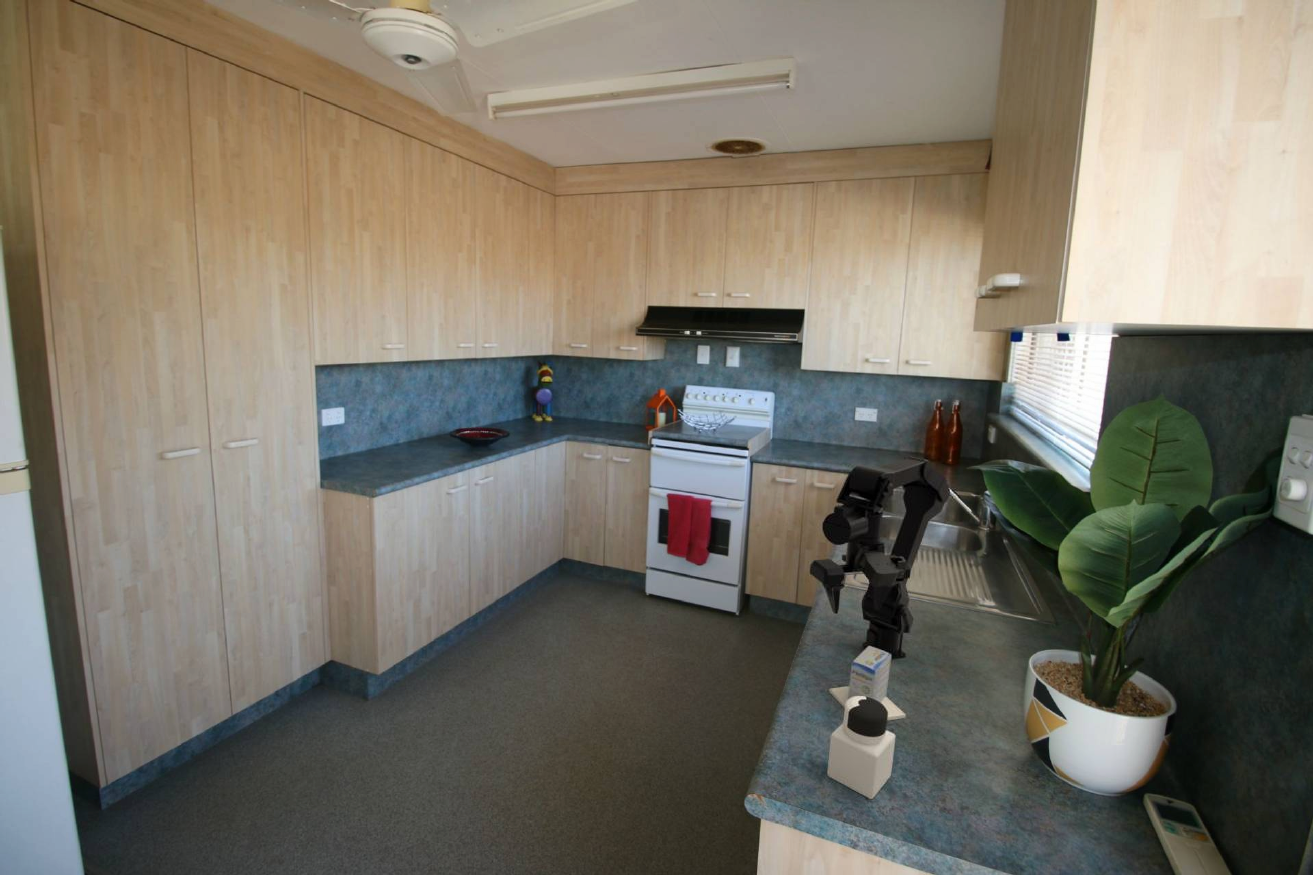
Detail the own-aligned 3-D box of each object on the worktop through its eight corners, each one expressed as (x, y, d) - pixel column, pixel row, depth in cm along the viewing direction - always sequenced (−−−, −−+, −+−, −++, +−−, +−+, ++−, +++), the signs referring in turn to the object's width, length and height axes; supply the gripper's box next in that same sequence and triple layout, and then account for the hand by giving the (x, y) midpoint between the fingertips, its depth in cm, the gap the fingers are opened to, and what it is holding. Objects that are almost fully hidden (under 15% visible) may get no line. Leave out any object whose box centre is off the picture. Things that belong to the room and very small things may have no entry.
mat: (871, 686, 120) (871, 683, 120) (905, 717, 110) (905, 714, 110) (829, 691, 117) (829, 688, 117) (860, 724, 108) (860, 721, 108)
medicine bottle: (891, 776, 96) (900, 704, 94) (871, 801, 90) (880, 725, 88) (847, 753, 100) (854, 684, 98) (826, 776, 95) (833, 704, 93)
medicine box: (863, 687, 118) (867, 644, 117) (887, 696, 115) (892, 653, 114) (846, 705, 112) (851, 661, 111) (871, 716, 109) (876, 670, 108)
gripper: (844, 551, 109) (835, 635, 112) (935, 545, 114) (925, 626, 117) (811, 530, 119) (804, 608, 122) (896, 526, 124) (888, 600, 127)
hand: (856, 611), depth 122 cm, fingers open, 9 cm apart
